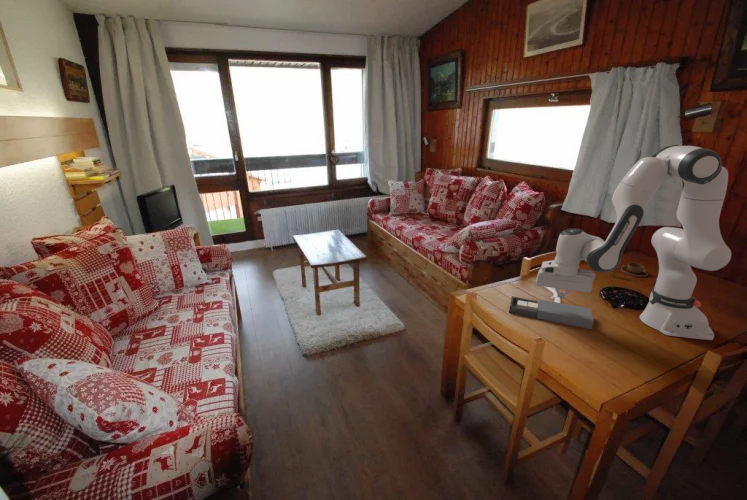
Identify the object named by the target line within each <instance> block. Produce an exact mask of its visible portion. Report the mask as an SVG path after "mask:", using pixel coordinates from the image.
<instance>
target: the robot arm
mask: <svg viewBox="0 0 747 500" xmlns="http://www.w3.org/2000/svg"><path fill="white" fill-rule="evenodd" d="M669 179H674V180H682V182H683V189H682V191H681V193H680V199H679V203H678V207H677V211H676V214H675V216H676V218H677V220H678V222H679V223H680V224H681V226H682V228H679V227H673V226H672V227H671V226H663V227H661V228H658V229H657V230H656V231H655V232H654V233H653V234H652V236H651V245H652V247H653V249H654V250H655V253H656V254H657V259H658V274H657V277H656V282H655V285H654V286H653V287H652V290H651V292H650V294H649V297H648V298H649V299H648V303H647V305H646V307H645V309H644V310H643V311H642V313H641V314H640V315H639V319H640V320H641V322H642V323H644V324H645V325H647V326H648V327H650V328H652V329H654V330H656V331H658V332H660V333H662V334H664V335H665V336H668V337H677V338H678V337H679V338H687V339H696V340H697V339H698V340H704V341H705V340H706V341H713V340H714V338H715V333H714V331H713V330H712V328H711V327H710V326H709V325H710V323H709V319H708V318H707V316H706V315H705V313H704V312H702V311H701V310H700V309H699V308H700V307H702V303H701V302H700V301H699V300H697V298H696V297H695V296H693V292H694V290H695V287H696V284H697V283H698V282H697V281H698V279H697V276H696V274H695V273H694V271H693V269H692V267H693V268H696V269H700V270H705V271H709V272H710V271H711V272H712V271H713V272H714V271H718V270H720V269H722V268H725V266H727V265H728V264H729V262H730V261H731V259H732V251H731V249H730V248H729V246H728V245H727V244H726V243H725V241H724V239H723V236H722V234H721V229H720V216H721V211H722V209H723V208H722V207H723V204H724V201H725V199H726V198H725V197H726V195H727V189H728V182H729V171H728V169H727V168H726V167H725V166H722V158H721V156H720V154H719V153H717V151H715V150H712V149H710V148H703V147H700V146H695V145H679V144H672V145H667V146H664V147H662V148H660V149H659V150H658V151H656V152H655V153H654V154H653V155H651V156H646V157H642V158H640V159H639V160H637V161H636V162H635V164H633V166H632V167H630V169H629V170H628V171H627V173H626V174H625V175H624V176H623V177H622V179H621V180H620V182H619V184H618V185H616V186H617V187H616V188H614V189H615V190H614V192H613V195H612V196H611V203H612V206H613V208H614V210H615V213H616V214H615V215H616V220H615V224H614V225H613V227H612V229H611V230H610V232H609V234H608V236H607V238H606V240H604V239H603V238H601V237H600V236H596V235H591V234H589V233H587V232H584V230H583V229H581V228H573V227H572V228H566V229H564V230H562V231H561V232H560V233H559V236H558V239H557V244H556V248H555V252H556V255H555V257H554V259H553V260H546V261H542V263H541V267H540V268H539V269H538V272H537V276H536V280H535V281H536V282H535V284H536V285H537V286H538V287H545V288H546V287H551V288H555V290H556V292H557V297H559V298H560V299H566V296H567V295H568V294H569V293H570V291H573V292H583V293H588V294H589V293H591V292H592V290H593V281H594V280H595V278H596V273H600V274H601V273H603V274H604V273H608V272H613V271H612V270H614V269H615V268H616V267H619V265H621V264H620V263H621V261H622V258H623V253H624V251H625V249H626V247H628V246H627V245H628V244H629V242H630V240H632V239H631V238H632V237H633V236H634V233H635V232H636V231H637V229H638V227H639V225H640V223H641V222H642V220H643V218H644V217H643V216H644V213H645V210H646V209H647V207H648V205H649V204H650V201H651V200H652V198H653V197H654V195H656V193H657V191H658V190H659V188H660V187H661V185H662V184H664V183H665V182H666V181H668V180H669ZM581 261H585V262H586V263H587V265H588V267H589V268H590V269H591V270H590V269H583V268H579V267H580V262H581ZM595 272H596V273H595ZM560 290H564V291H563V292H560Z"/></svg>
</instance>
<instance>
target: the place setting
mask: <svg viewBox="0 0 747 500" xmlns="http://www.w3.org/2000/svg"><path fill="white" fill-rule="evenodd" d="M619 265H620V267H621V268H620V271H621V272H622V273H624V274H625V275H628V276H632V277H637V278H645V277H647V276H648V275H649V274H650V273H649V271H647V270H646V269H645V266H644V265H643V264H642V263H637V262H629V263H627V265H621V264H619ZM625 269H627V270H628V271H629V272H627V271H626V270H625ZM618 270H619V266H617V267H616V268H615V269H614V270H612V271H611V272H612V275H611V277H612V278H614V277H615V275H616V273H618ZM640 273H644V274H640ZM628 279H629V280H631V277H628Z"/></svg>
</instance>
